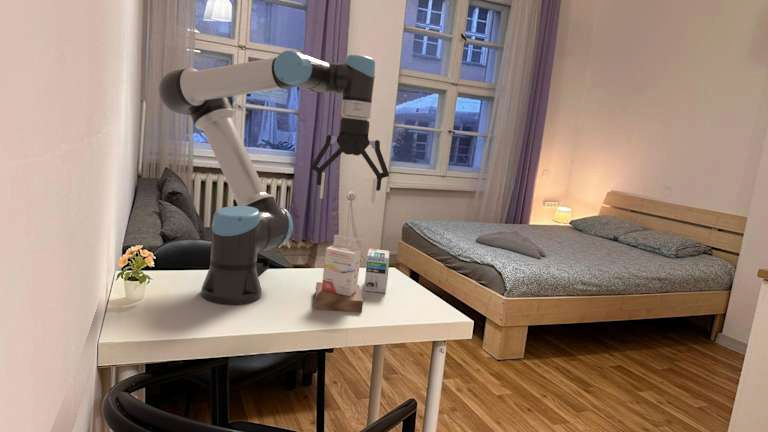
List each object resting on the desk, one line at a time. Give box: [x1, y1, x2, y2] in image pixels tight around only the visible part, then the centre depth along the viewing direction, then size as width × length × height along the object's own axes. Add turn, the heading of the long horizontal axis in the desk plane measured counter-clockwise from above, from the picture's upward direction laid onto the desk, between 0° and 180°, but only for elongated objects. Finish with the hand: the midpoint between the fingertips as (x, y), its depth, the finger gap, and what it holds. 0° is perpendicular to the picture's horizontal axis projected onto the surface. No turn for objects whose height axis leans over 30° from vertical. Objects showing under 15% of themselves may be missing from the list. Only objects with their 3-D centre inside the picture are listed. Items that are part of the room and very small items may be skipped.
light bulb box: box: [363, 248, 391, 294], centre depth 158 cm, size 11×7×11 cm, turn 179°
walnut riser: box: [314, 281, 364, 313], centre depth 141 cm, size 12×14×3 cm
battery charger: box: [256, 256, 270, 278], centre depth 159 cm, size 13×10×4 cm
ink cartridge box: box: [322, 234, 362, 296], centre depth 140 cm, size 9×5×15 cm, turn 71°
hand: (347, 200), depth 138 cm, fingers open, 13 cm apart
